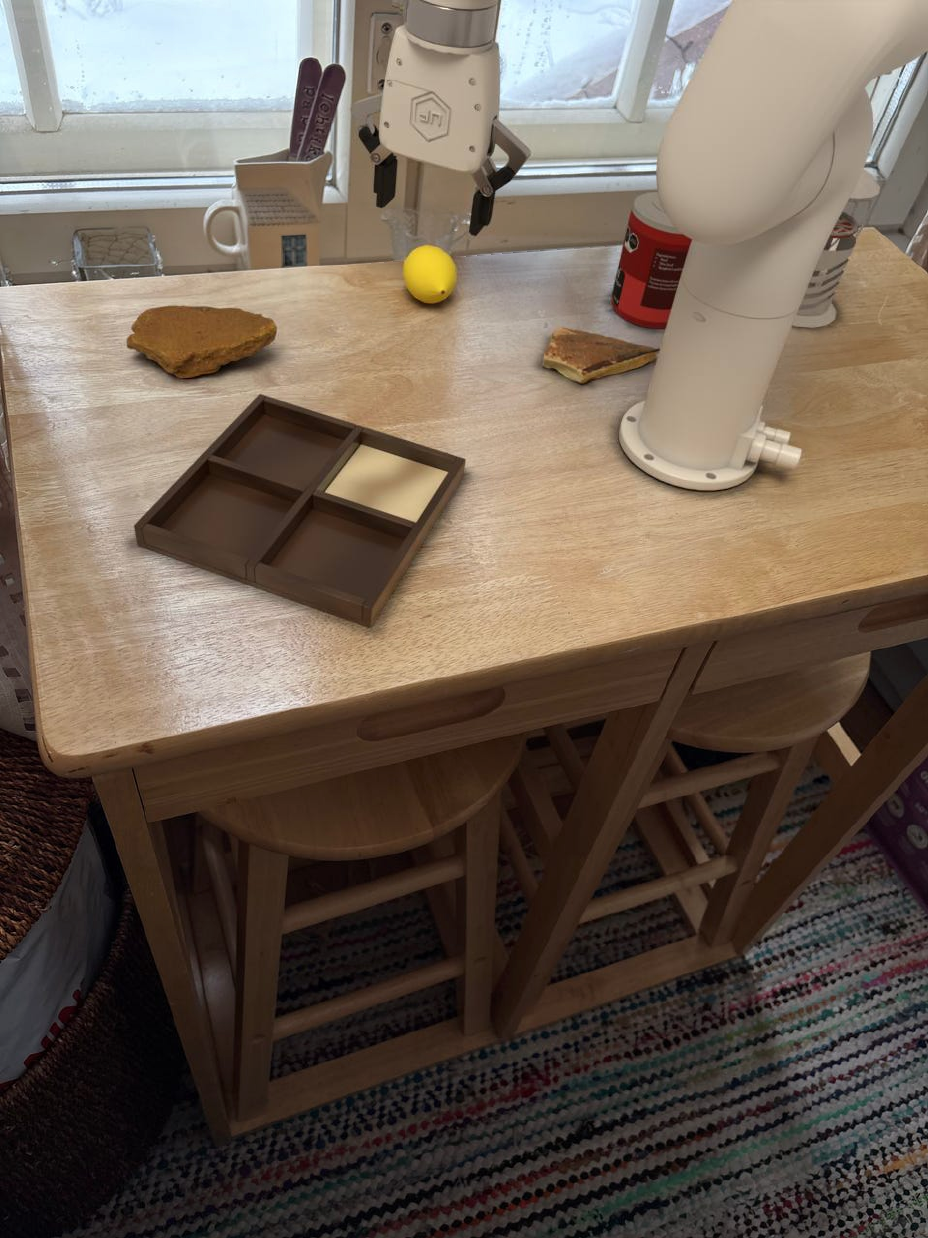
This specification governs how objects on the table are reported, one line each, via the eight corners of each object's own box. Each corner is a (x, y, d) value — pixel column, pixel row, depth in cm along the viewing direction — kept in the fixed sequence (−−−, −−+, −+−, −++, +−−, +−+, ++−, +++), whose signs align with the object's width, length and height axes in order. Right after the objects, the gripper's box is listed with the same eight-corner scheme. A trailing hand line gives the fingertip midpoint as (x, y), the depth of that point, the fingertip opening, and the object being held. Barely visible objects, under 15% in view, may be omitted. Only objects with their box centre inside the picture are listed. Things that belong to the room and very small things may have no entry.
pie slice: (658, 362, 98) (663, 346, 97) (649, 403, 93) (654, 387, 91) (553, 337, 99) (556, 321, 98) (538, 377, 94) (541, 360, 92)
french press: (730, 293, 109) (812, 45, 91) (796, 270, 115) (886, 32, 96) (798, 336, 104) (899, 82, 86) (864, 310, 110) (972, 67, 91)
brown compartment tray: (463, 477, 82) (466, 458, 81) (370, 628, 70) (371, 608, 68) (260, 412, 85) (259, 393, 84) (137, 545, 73) (133, 525, 71)
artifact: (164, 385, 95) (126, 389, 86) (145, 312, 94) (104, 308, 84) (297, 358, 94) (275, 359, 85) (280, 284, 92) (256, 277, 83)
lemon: (392, 284, 103) (395, 234, 99) (441, 280, 104) (446, 230, 100) (414, 319, 98) (417, 268, 94) (464, 314, 100) (470, 264, 96)
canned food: (630, 283, 108) (655, 183, 100) (694, 311, 105) (725, 211, 97) (595, 308, 104) (618, 206, 96) (661, 338, 101) (691, 235, 93)
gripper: (338, 5, 82) (333, 206, 94) (533, 57, 79) (501, 257, 92) (374, -16, 87) (365, 177, 99) (560, 32, 84) (526, 225, 97)
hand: (431, 215), depth 95 cm, fingers open, 9 cm apart
